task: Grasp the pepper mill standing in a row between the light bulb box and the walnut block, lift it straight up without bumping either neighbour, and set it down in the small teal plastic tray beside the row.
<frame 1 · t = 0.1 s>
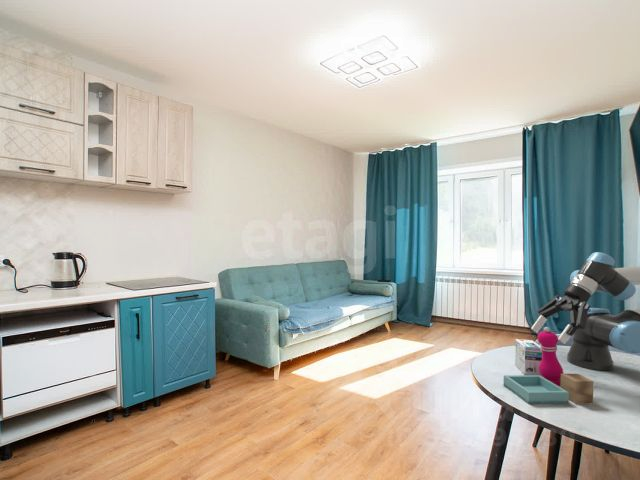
hand: (546, 335, 127), 15 cm above the table, tool tilted 35°, fingers open, 13 cm apart
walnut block: (576, 399, 111), on the table
pepper mill: (552, 383, 121), on the table
tray: (534, 394, 113), on the table
light bulb box: (528, 371, 134), on the table
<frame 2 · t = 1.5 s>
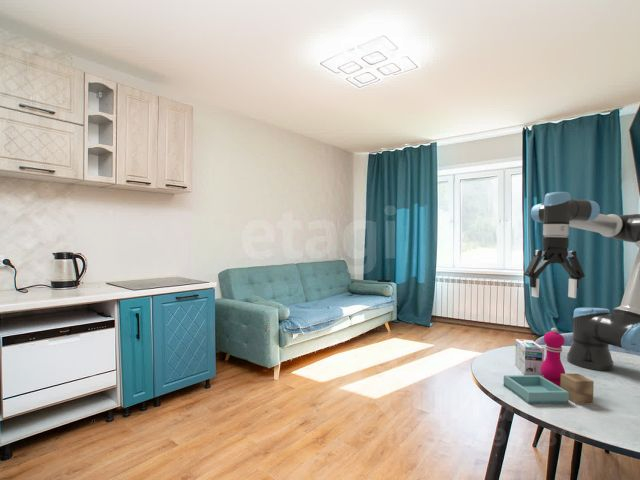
hand: (553, 297, 121), 31 cm above the table, tool pointing down, fingers open, 13 cm apart
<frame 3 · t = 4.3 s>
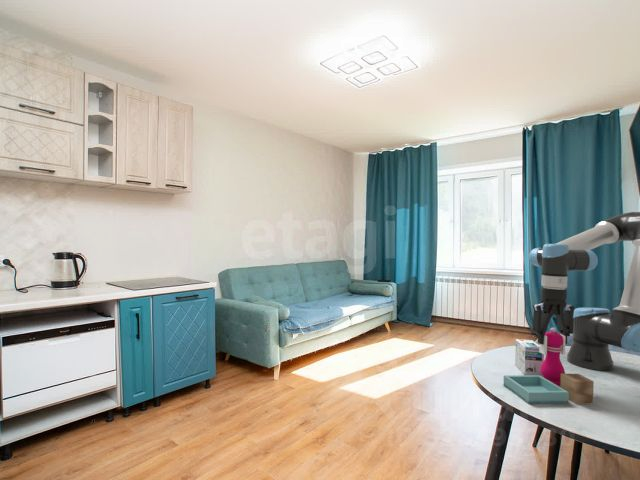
hand: (552, 353, 121), 11 cm above the table, tool pointing down, fingers closed on pepper mill, 6 cm apart
pepper mill: (552, 384, 121), on the table, touching gripper
everything else where it was.
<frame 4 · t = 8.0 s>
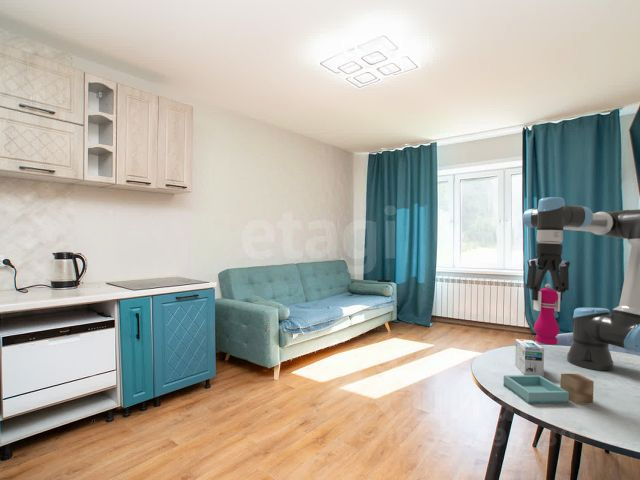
hand: (546, 310, 118), 27 cm above the table, tool pointing down, fingers closed on pepper mill, 6 cm apart
pepper mill: (546, 342, 118), point 16 cm above the table, touching gripper
everything else where it was.
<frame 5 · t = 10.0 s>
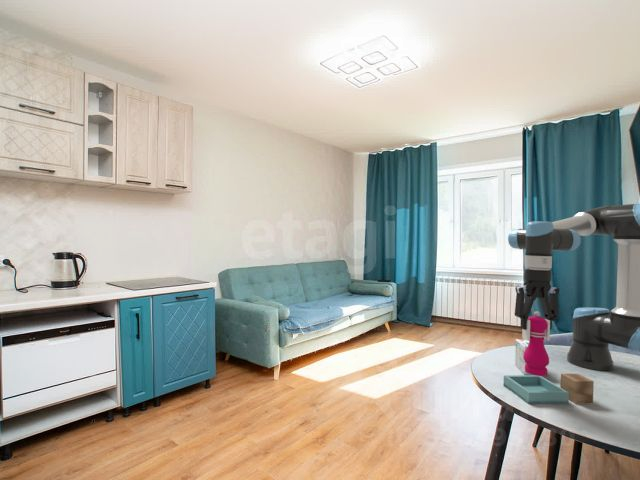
hand: (535, 339, 113), 18 cm above the table, tool pointing down, fingers closed on pepper mill, 6 cm apart
pepper mill: (535, 372, 113), point 7 cm above the table, touching gripper
everything else where it was.
when the fingers open (13 cm above the table, at t = 11.7 s): pepper mill drops 1 cm, resting on tray.
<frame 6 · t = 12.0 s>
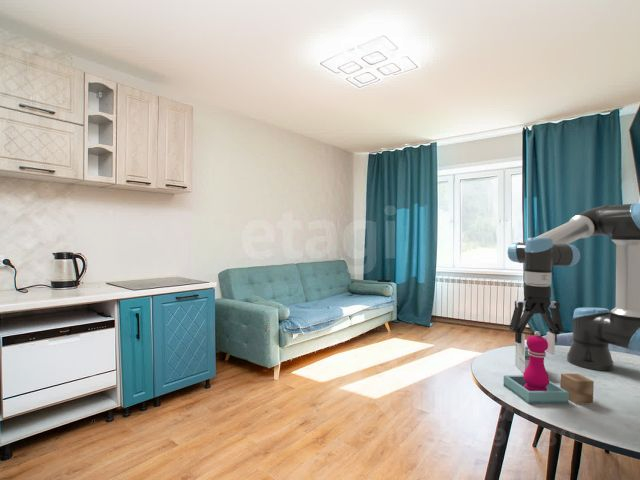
hand: (535, 352, 113), 14 cm above the table, tool pointing down, fingers open, 9 cm apart
pepper mill: (535, 392, 113), point 1 cm above the table, touching tray
everything else where it was.
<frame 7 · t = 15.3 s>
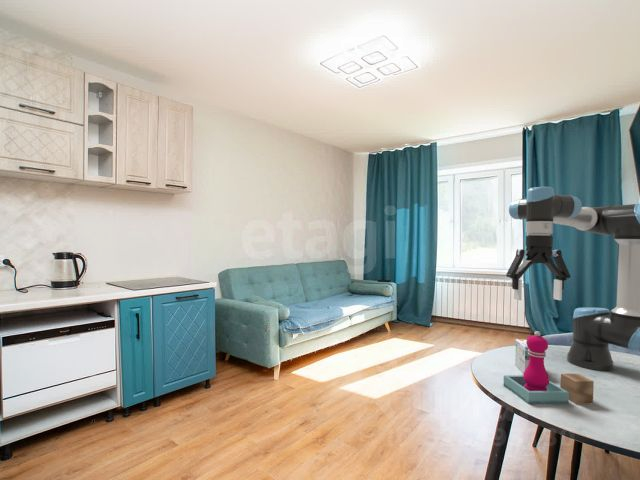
hand: (537, 299, 113), 31 cm above the table, tool pointing down, fingers open, 13 cm apart
nothing on the table moved.
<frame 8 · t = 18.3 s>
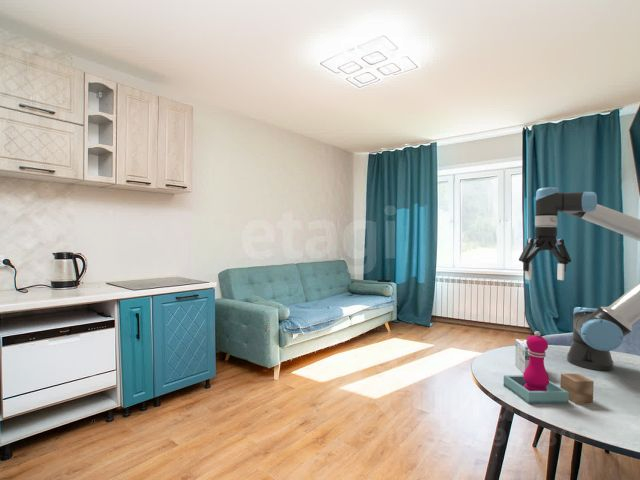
hand: (544, 279, 139), 35 cm above the table, tool pointing down, fingers open, 13 cm apart
nothing on the table moved.
at the end: pepper mill 0.4 cm off-centre on the tray, point 0.6 cm above the tray's base; light bulb box moved 0.3 cm from its start; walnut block moved 0.1 cm from its start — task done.
